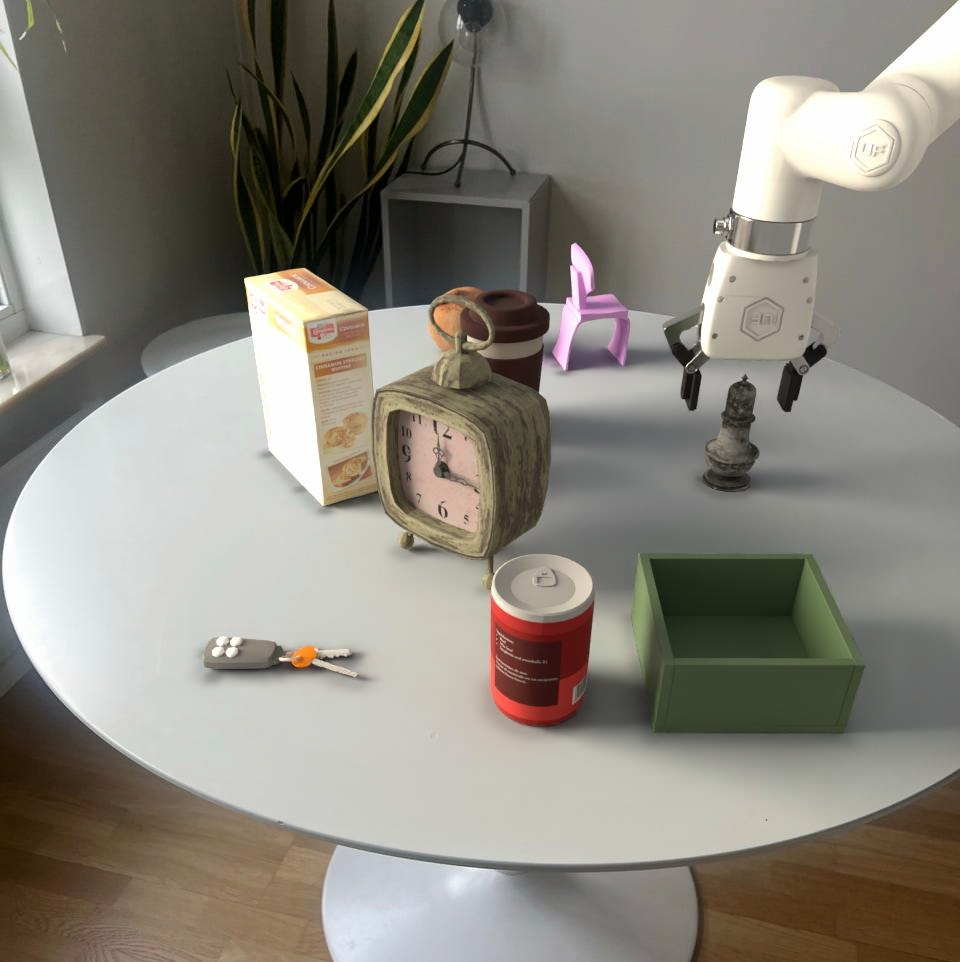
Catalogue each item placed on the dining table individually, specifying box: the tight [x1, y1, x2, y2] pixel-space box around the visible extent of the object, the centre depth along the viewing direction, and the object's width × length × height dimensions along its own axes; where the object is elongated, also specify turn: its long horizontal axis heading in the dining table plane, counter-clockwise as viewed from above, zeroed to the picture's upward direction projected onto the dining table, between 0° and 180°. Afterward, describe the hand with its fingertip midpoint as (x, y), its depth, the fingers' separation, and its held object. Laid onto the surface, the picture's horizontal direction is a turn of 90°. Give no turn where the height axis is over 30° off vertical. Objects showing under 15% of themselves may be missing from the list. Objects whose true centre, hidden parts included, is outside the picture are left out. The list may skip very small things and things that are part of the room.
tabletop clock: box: [371, 293, 552, 591], centre depth 85 cm, size 14×9×25 cm, turn 50°
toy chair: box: [552, 242, 631, 372], centre depth 126 cm, size 8×9×15 cm
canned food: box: [489, 553, 596, 727], centre depth 74 cm, size 8×8×11 cm
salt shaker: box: [701, 373, 761, 493], centre depth 101 cm, size 6×6×12 cm
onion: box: [428, 286, 485, 353], centre depth 129 cm, size 10×9×10 cm
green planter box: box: [630, 552, 866, 734], centre depth 77 cm, size 15×15×7 cm
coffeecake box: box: [244, 267, 378, 507], centre depth 100 cm, size 15×7×20 cm, turn 32°
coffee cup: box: [460, 289, 551, 394], centre depth 110 cm, size 10×10×15 cm
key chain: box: [201, 635, 359, 678], centre depth 80 cm, size 13×4×2 cm, turn 87°
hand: (736, 405), depth 99 cm, fingers open, 9 cm apart
